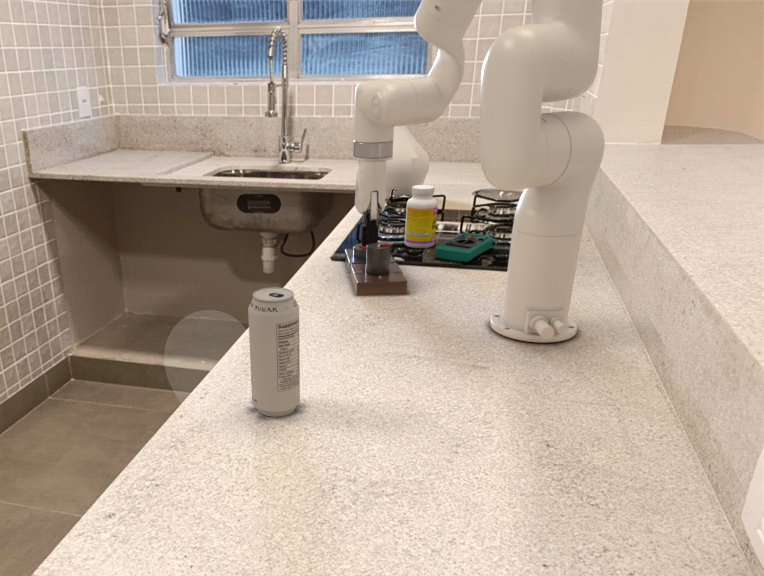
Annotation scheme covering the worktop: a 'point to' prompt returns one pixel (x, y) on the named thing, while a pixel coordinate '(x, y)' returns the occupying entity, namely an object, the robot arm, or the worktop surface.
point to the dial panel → (378, 281)
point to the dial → (378, 258)
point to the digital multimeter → (464, 247)
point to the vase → (405, 164)
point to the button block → (358, 256)
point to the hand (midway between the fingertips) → (369, 245)
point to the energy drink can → (274, 351)
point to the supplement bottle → (421, 217)
